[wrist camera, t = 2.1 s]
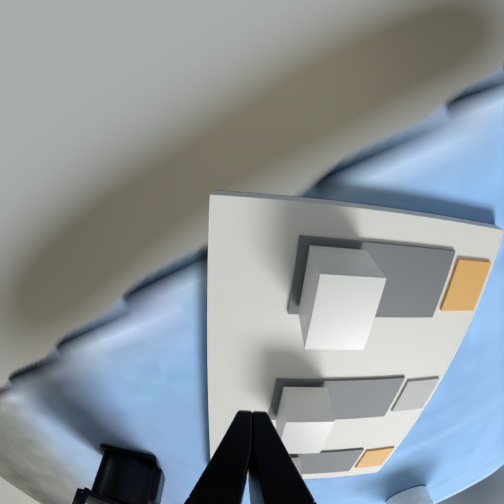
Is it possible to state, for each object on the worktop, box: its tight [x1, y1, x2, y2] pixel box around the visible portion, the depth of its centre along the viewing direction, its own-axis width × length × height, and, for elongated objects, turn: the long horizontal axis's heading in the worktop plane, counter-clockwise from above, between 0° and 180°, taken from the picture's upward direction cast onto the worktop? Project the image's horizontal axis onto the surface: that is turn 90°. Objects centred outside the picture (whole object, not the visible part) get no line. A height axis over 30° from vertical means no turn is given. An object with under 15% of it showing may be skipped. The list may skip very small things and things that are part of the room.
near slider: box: [298, 245, 386, 350], centre depth 15 cm, size 3×4×3 cm
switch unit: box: [207, 190, 504, 479], centre depth 21 cm, size 18×28×1 cm, turn 176°
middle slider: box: [276, 387, 335, 454], centre depth 19 cm, size 3×4×3 cm
